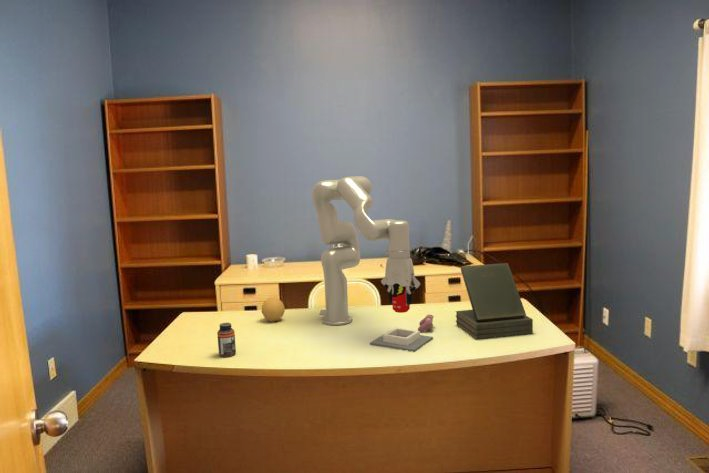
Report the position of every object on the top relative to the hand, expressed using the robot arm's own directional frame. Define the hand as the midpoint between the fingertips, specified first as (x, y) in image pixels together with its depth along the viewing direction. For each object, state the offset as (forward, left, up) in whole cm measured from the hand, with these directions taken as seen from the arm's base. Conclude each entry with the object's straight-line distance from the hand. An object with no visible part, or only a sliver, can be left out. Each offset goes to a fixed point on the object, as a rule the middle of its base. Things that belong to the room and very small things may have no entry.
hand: (401, 302), depth 191 cm
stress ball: (-63, +1, -15) cm, 65 cm away
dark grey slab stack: (+25, +29, -15) cm, 41 cm away
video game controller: (+1, +18, -15) cm, 24 cm away
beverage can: (0, 0, -3) cm, 3 cm away
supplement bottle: (-49, -40, -15) cm, 65 cm away
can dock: (0, 0, -15) cm, 15 cm away
